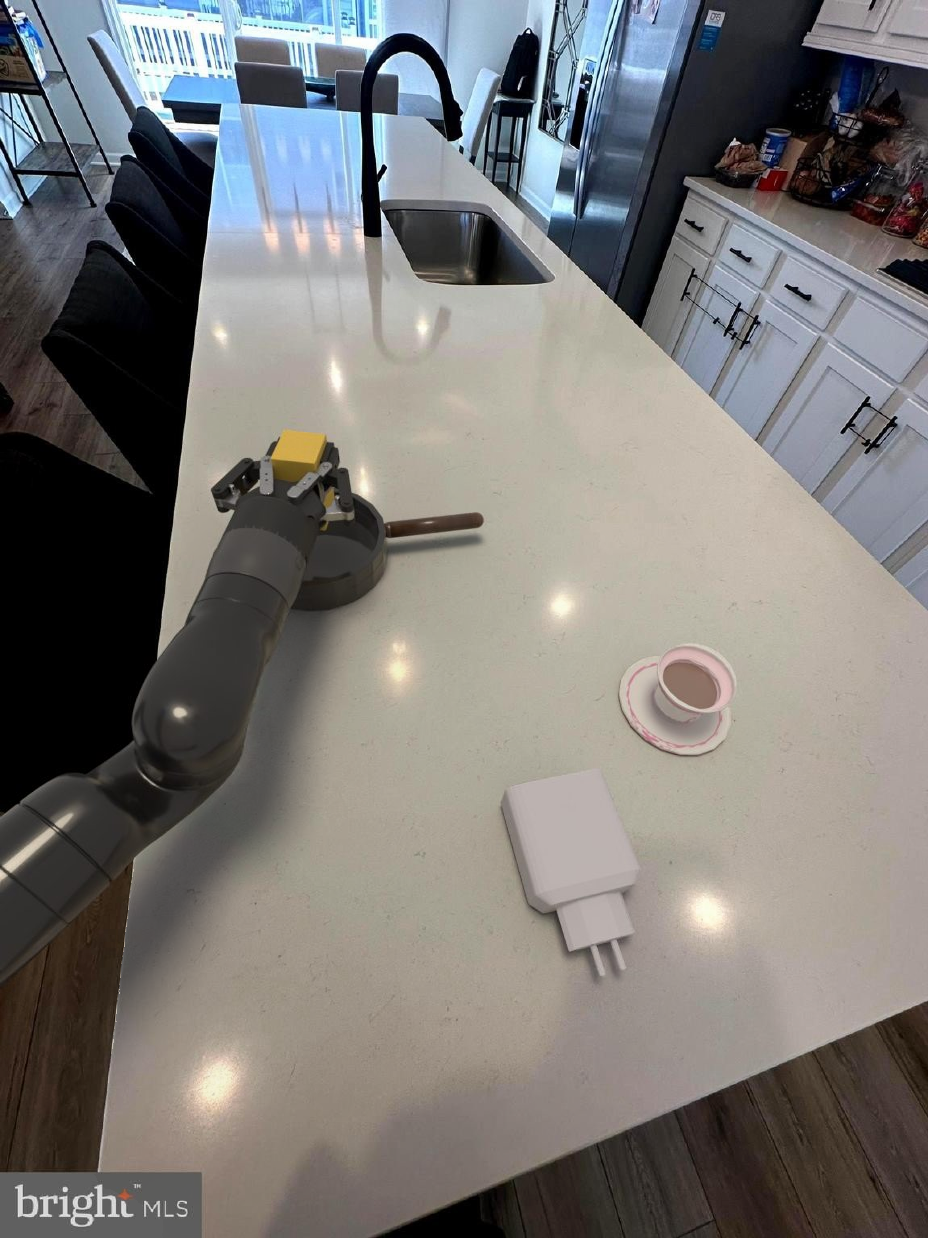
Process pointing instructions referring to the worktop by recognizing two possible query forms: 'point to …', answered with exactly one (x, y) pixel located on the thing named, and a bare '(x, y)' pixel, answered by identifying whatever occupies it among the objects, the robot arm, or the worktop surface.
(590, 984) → the worktop surface
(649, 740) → the teacup
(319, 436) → the cheese
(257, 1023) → the worktop surface
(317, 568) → the pan
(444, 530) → the pan handle
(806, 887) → the worktop surface
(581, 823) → the charger
